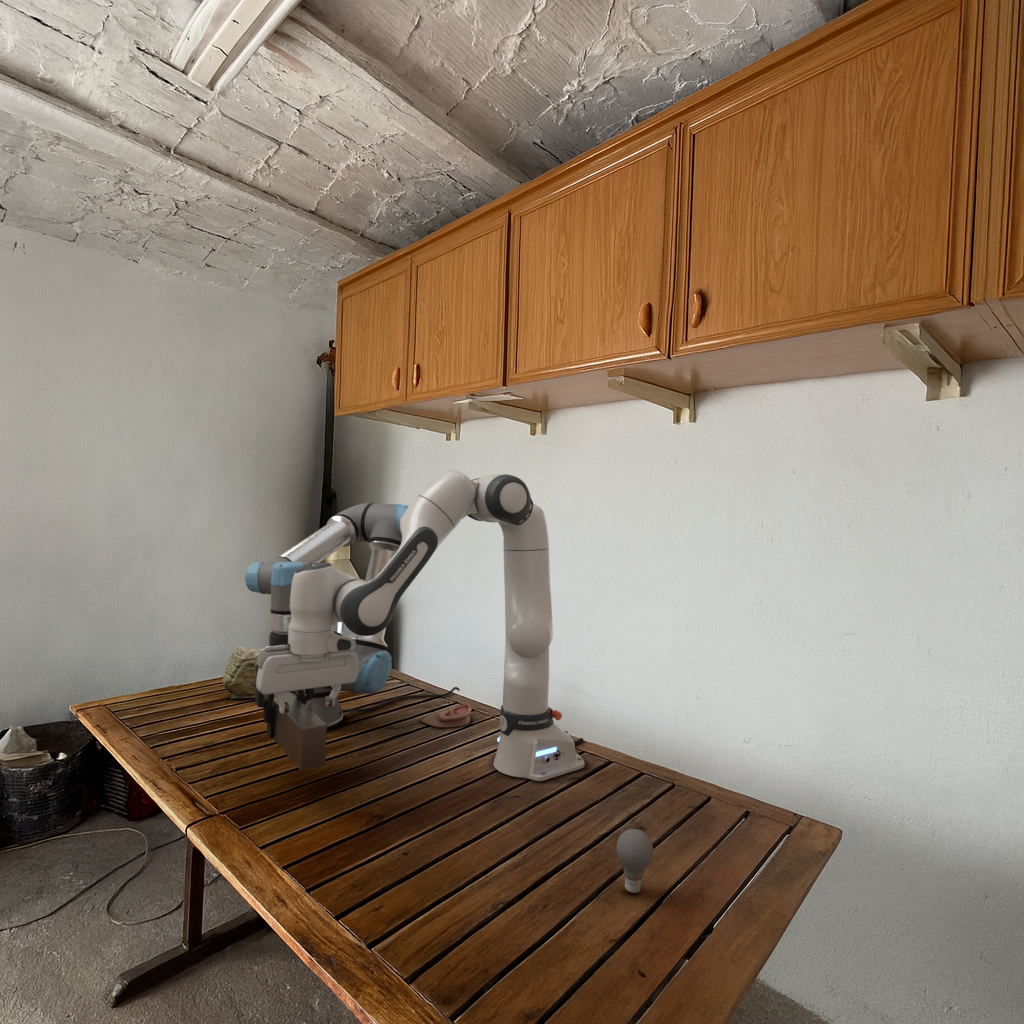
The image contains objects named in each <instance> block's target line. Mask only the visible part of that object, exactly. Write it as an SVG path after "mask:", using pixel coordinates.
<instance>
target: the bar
mask: <svg viewBox="0 0 1024 1024" xmlns="http://www.w3.org/2000/svg"><path fill="white" fill-rule="evenodd" d="M281 698H282V700H283V701H284V702H287V703H288V704H289V705H290V706H289V713H284V714H281V713H280V711H279V706H280V704H279V702H278V701H277V699H276V697H274V701H273V704H272V706H273V707H274V708H275V726H274V738H272V739H273V741H274V742H275V743H276V744H277V745H278V747H280V749H281V750H282V751H283V752H284V753H285V754H286V756H287V757H288V758H289V759H290V760H291V761H292V763H294V765H295V766H296V767H297V768H298V770H300V772H303V771H307V770H311V769H316V768H317V769H318V768H321V767H325V766H326V759H327V758H326V757H327V733H328V732H327V731H328V730H327V724H326V723H325V722H323V721H322V720H321V719H320V718H319V717H318V716H317V715H315V714H314V713H313V712H312V711H311V710H310V709H309V708H308V707H306V706H305V705H304V704H303V703H302V702H301V701H300V700H298V699H297V698H296V697H295V696H294V693H292V692H291V691H288V692H285V694H284V697H281ZM267 727H268V723H266V728H267Z"/></svg>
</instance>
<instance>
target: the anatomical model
mask: <svg viewBox="0 0 1024 1024" xmlns="http://www.w3.org/2000/svg"><path fill="white" fill-rule="evenodd" d="M471 713H472V706H471V705H470V704H469V703H464V704H460V705H456V706H453V707H450V708H448V709H445V710H442V711H439V712H435V713H432V714H429V715H428V716H425V717H424V718H423V719H421V722H422V723H424V724H426V725H429V726H431V727H436V728H455V727H461V726H465V725H468V724H469V723H470V722H471V716H470V715H471Z"/></svg>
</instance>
